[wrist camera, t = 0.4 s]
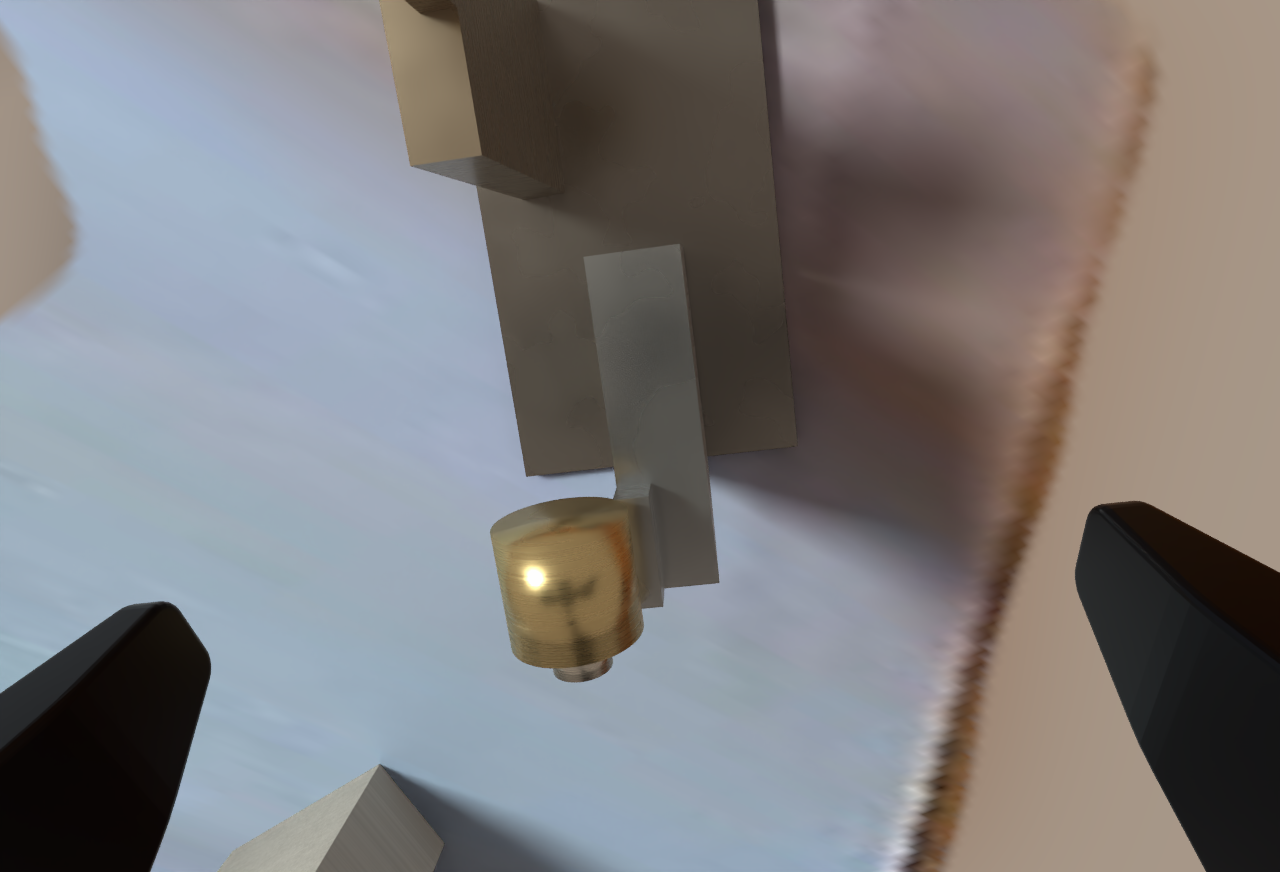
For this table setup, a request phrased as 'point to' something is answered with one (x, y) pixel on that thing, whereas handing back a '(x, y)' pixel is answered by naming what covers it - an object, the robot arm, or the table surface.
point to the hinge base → (608, 192)
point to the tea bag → (346, 834)
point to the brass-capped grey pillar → (619, 484)
